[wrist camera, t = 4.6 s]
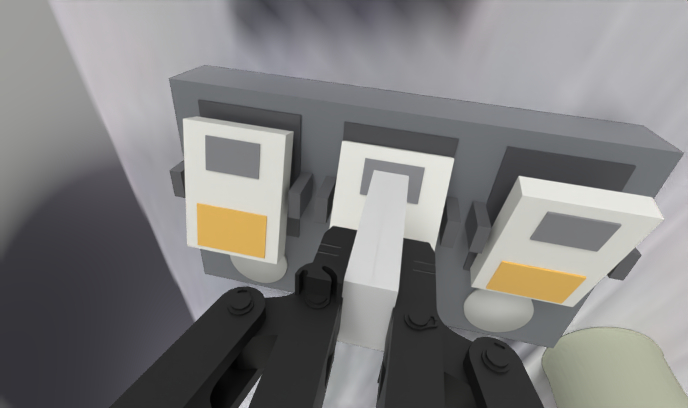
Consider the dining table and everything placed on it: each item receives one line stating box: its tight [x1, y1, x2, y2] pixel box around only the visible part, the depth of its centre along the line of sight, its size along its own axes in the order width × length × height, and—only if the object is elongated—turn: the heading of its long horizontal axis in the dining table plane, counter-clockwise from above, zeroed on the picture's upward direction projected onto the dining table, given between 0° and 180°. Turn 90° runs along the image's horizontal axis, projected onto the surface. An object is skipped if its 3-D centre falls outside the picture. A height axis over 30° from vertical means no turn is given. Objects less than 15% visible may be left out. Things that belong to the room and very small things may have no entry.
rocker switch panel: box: [169, 65, 684, 348], centre depth 24 cm, size 16×28×7 cm, turn 85°
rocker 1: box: [183, 116, 294, 264], centre depth 21 cm, size 8×6×2 cm
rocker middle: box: [329, 141, 454, 251], centre depth 20 cm, size 8×6×2 cm
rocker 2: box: [470, 176, 664, 307], centre depth 19 cm, size 8×6×2 cm
